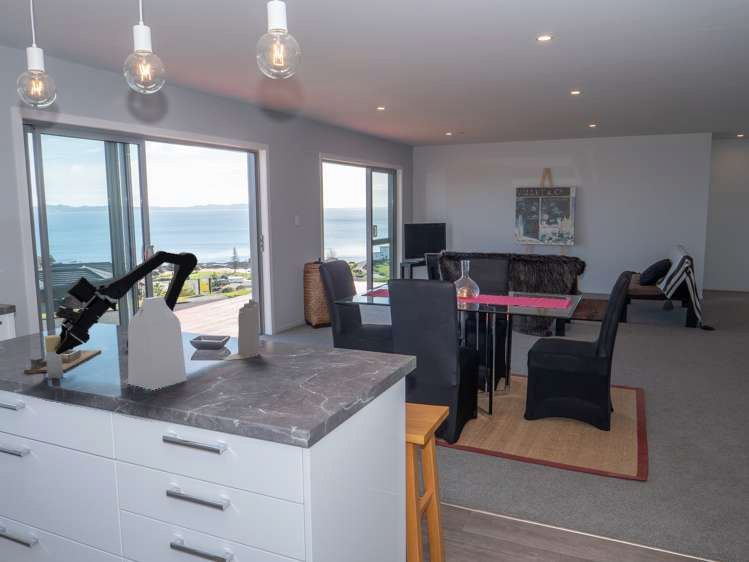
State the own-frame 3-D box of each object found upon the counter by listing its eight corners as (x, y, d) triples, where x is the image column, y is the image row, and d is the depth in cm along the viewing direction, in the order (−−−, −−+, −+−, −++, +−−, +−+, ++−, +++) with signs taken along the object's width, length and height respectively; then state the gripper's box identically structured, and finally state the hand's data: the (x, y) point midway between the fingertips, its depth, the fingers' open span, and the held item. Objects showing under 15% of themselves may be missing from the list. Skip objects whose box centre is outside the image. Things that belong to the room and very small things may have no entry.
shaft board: (101, 352, 209) (100, 342, 209) (65, 372, 183) (64, 360, 183) (65, 353, 209) (64, 342, 208) (24, 373, 183) (23, 360, 182)
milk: (152, 390, 164) (148, 301, 161) (128, 384, 170) (123, 298, 167) (186, 380, 174) (182, 296, 171) (162, 374, 180) (158, 293, 177)
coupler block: (61, 374, 181) (58, 334, 179) (63, 377, 178) (60, 336, 176) (47, 376, 179) (44, 336, 177) (48, 379, 175) (45, 338, 174)
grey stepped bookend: (218, 357, 201) (216, 302, 199) (253, 351, 210) (252, 298, 208) (228, 361, 196) (226, 304, 194) (263, 355, 205) (262, 300, 203)
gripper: (67, 293, 186) (30, 329, 181) (75, 299, 171) (35, 340, 166) (95, 314, 191) (60, 350, 186) (105, 323, 176) (67, 362, 171)
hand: (55, 350), depth 177 cm, fingers open, 9 cm apart
